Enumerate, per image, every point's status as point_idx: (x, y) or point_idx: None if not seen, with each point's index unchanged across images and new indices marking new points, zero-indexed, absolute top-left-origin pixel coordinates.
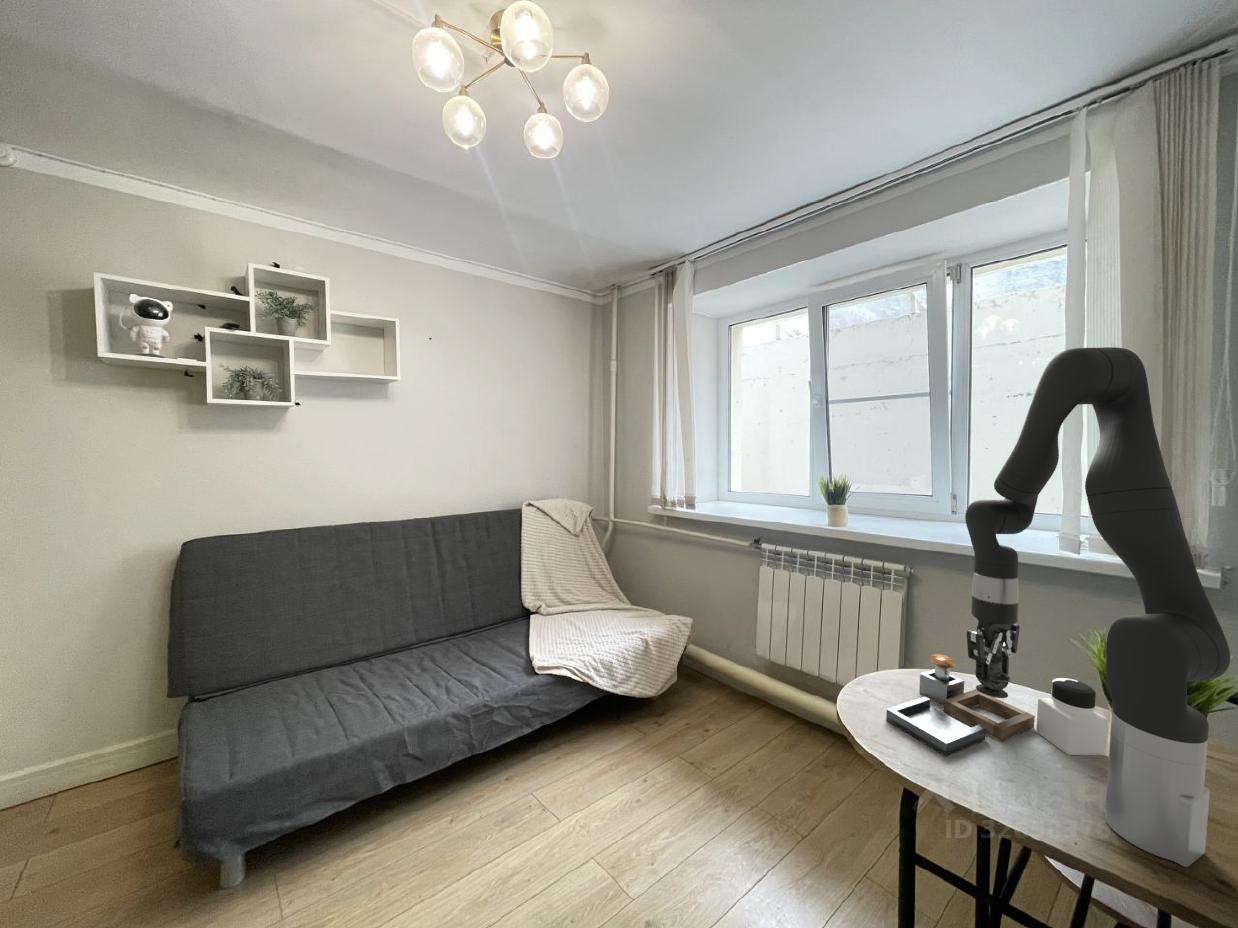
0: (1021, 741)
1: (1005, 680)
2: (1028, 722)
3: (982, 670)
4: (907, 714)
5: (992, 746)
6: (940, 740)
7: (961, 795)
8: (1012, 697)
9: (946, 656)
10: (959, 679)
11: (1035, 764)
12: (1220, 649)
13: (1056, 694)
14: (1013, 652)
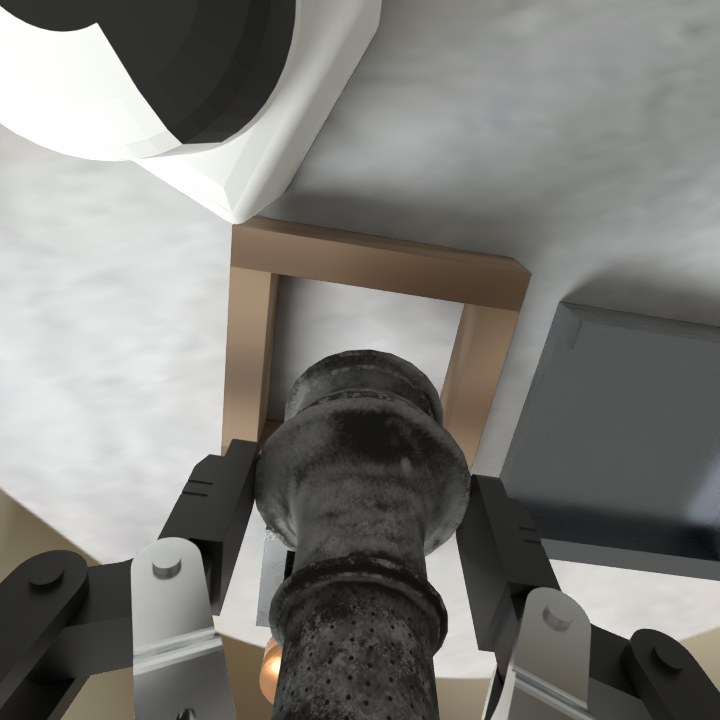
0: (435, 207)
1: (398, 415)
2: (296, 230)
3: (544, 557)
4: (640, 527)
5: (589, 267)
6: None
7: None
8: (43, 365)
9: (267, 684)
10: (275, 543)
11: (605, 98)
12: None
13: (267, 85)
14: (87, 568)
